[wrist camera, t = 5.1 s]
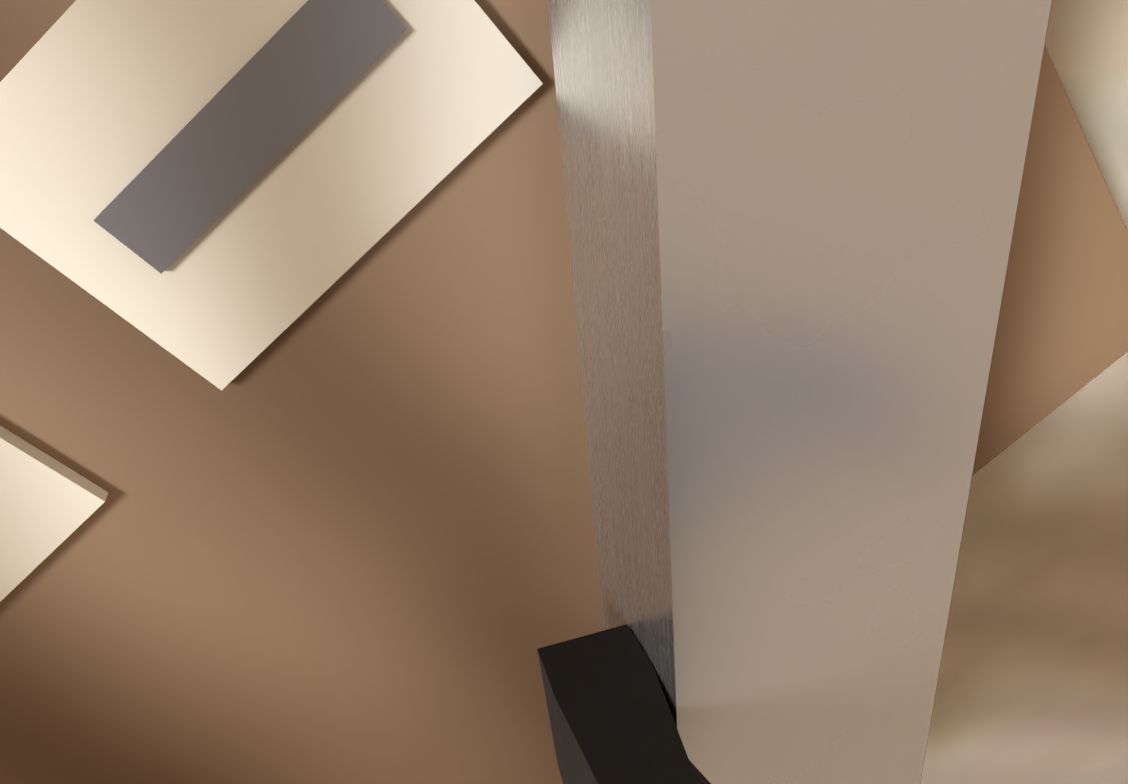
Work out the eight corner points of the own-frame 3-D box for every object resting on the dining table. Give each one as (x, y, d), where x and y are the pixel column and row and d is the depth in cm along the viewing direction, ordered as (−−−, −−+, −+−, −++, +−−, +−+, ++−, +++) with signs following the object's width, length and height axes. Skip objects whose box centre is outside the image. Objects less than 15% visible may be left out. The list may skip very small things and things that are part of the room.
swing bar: (448, -612, 6) (549, -1020, 4) (899, -611, 7) (1282, -959, 4) (606, 876, 15) (671, 1089, 12) (801, 817, 16) (905, 1008, 13)
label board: (264, 960, 18) (258, 1072, 16) (-899, 547, 10) (-1165, 684, 8) (1092, 285, 15) (1194, 333, 13) (416, -1082, 7) (448, -1419, 5)
